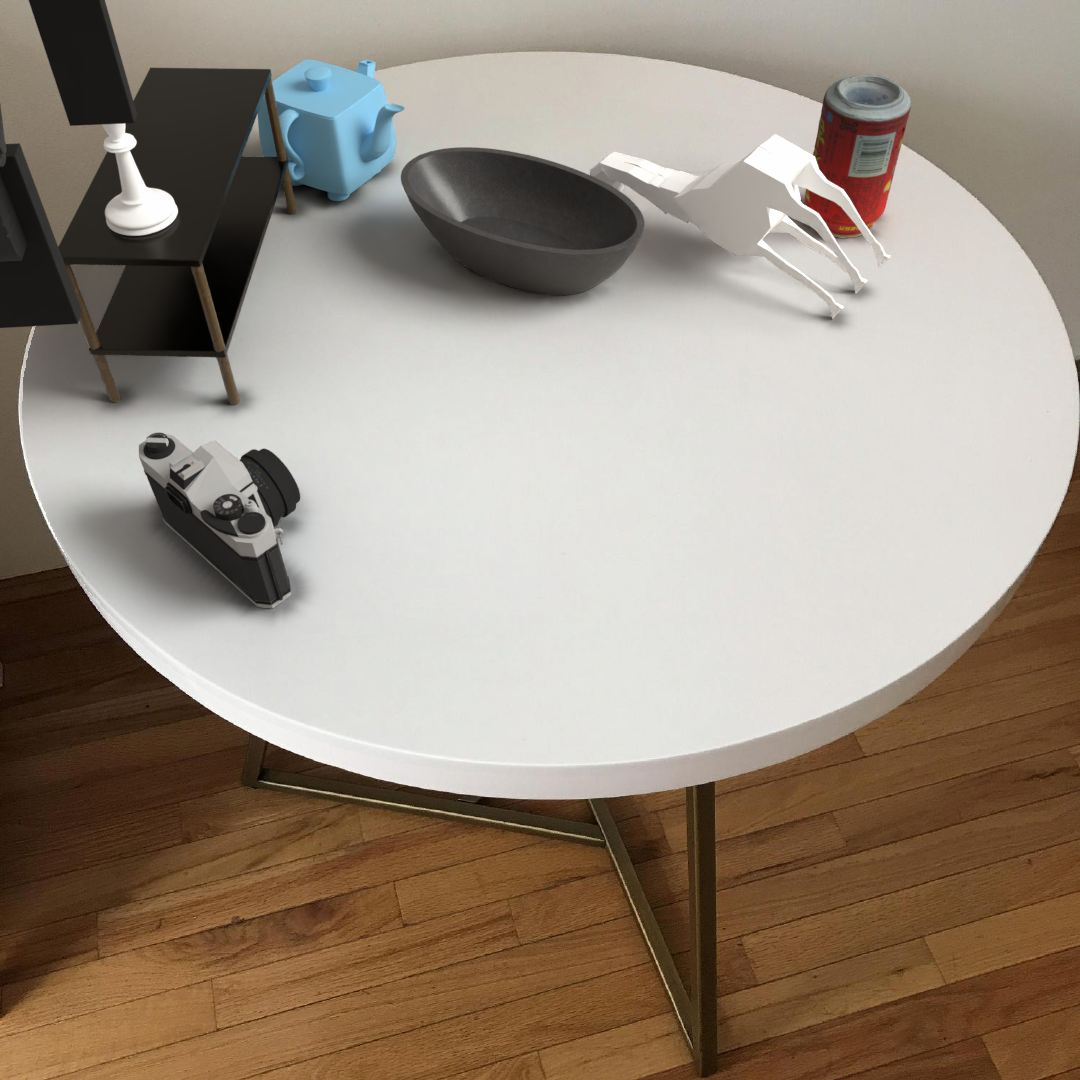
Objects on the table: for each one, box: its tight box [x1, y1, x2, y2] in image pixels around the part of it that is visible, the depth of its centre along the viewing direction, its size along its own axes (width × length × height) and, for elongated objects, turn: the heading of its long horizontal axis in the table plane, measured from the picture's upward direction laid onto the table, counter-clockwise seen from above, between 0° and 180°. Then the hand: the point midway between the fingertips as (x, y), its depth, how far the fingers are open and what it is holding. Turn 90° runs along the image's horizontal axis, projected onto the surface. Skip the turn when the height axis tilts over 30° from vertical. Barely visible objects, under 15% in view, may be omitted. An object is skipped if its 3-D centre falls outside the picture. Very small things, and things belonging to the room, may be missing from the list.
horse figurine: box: [588, 133, 892, 320], centre depth 97 cm, size 5×16×25 cm
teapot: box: [257, 58, 405, 202], centre depth 105 cm, size 18×14×10 cm
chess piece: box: [101, 124, 178, 236], centre depth 78 cm, size 5×5×10 cm
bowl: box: [400, 146, 646, 296], centre depth 97 cm, size 12×22×6 cm, turn 60°
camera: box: [138, 432, 301, 610], centre depth 77 cm, size 13×8×9 cm, turn 49°
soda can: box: [804, 74, 912, 239], centre depth 99 cm, size 7×7×12 cm
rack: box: [58, 67, 298, 406], centre depth 92 cm, size 26×10×13 cm, turn 178°
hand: (75, 211), depth 45 cm, fingers open, 13 cm apart
